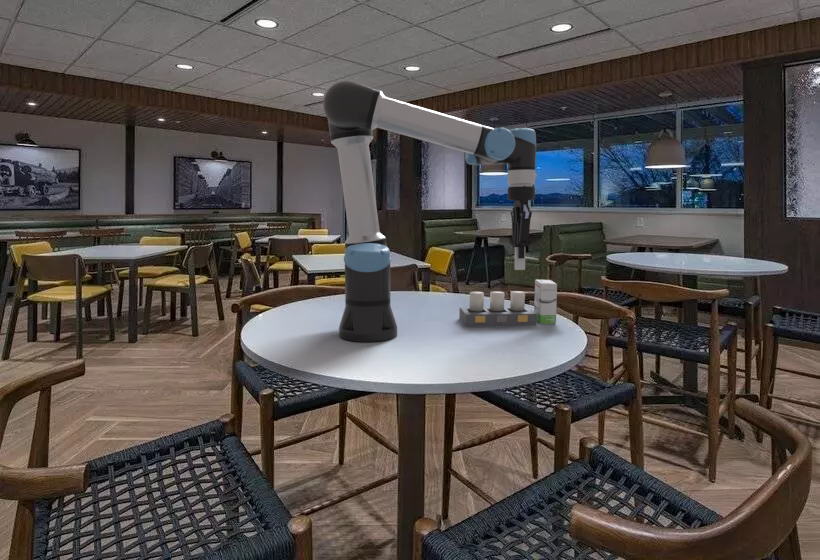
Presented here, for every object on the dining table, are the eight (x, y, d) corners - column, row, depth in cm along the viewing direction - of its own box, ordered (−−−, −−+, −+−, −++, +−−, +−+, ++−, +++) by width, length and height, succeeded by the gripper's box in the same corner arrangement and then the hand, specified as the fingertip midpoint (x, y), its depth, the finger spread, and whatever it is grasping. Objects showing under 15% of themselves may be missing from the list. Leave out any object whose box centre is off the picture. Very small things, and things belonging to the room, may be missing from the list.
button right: (512, 310, 148) (512, 293, 148) (508, 308, 152) (509, 291, 152) (526, 310, 149) (526, 293, 148) (522, 307, 153) (522, 291, 152)
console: (466, 327, 144) (466, 314, 144) (459, 318, 155) (459, 307, 155) (536, 326, 146) (537, 313, 145) (525, 317, 157) (525, 306, 156)
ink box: (556, 324, 148) (558, 283, 147) (539, 324, 148) (540, 283, 147) (549, 317, 157) (551, 279, 155) (533, 317, 157) (534, 279, 155)
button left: (470, 311, 148) (471, 294, 147) (468, 308, 151) (468, 291, 151) (484, 311, 148) (485, 293, 147) (481, 308, 152) (482, 291, 151)
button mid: (491, 311, 148) (492, 293, 147) (488, 308, 152) (488, 291, 151) (505, 310, 148) (505, 293, 147) (502, 308, 152) (502, 291, 151)
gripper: (541, 185, 139) (539, 272, 143) (527, 186, 152) (526, 266, 155) (514, 185, 139) (512, 272, 142) (502, 187, 152) (501, 267, 155)
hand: (519, 269), depth 149 cm, fingers closed
